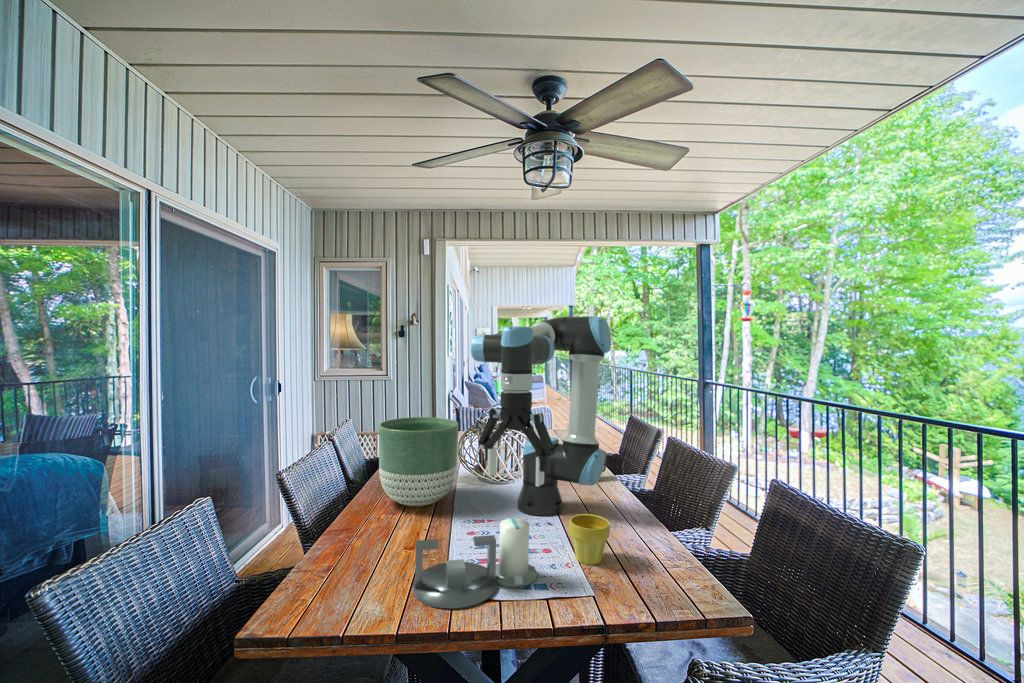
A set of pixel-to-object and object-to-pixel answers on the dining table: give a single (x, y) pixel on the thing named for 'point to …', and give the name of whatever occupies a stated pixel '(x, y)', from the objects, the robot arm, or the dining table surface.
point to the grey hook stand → (455, 578)
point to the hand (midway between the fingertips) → (515, 479)
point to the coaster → (510, 583)
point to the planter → (418, 458)
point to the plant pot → (589, 537)
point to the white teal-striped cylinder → (514, 549)
